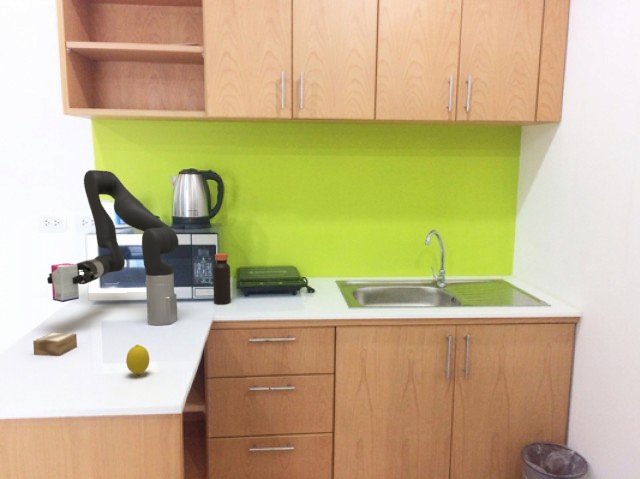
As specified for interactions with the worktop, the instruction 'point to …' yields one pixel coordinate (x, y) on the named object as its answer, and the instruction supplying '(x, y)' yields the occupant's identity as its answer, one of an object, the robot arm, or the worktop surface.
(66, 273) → the supplement box
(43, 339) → the wooden block
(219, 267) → the bottle
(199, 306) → the worktop surface
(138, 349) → the lemon
